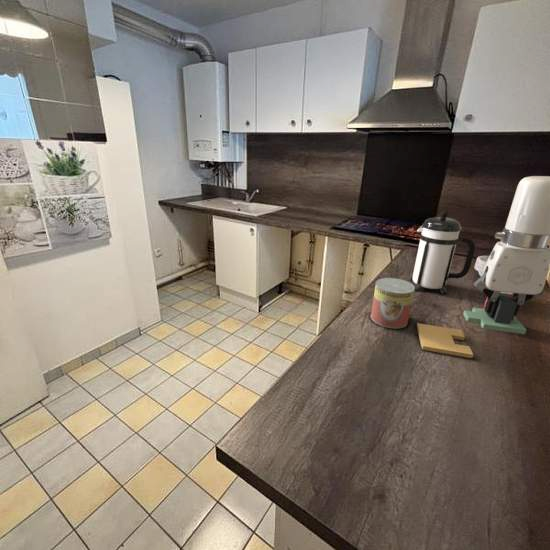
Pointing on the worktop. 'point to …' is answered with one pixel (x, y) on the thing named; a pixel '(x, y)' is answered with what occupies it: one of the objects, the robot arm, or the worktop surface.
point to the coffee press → (439, 253)
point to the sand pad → (442, 340)
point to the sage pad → (490, 324)
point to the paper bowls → (481, 264)
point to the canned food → (392, 302)
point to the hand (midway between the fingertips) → (498, 315)
